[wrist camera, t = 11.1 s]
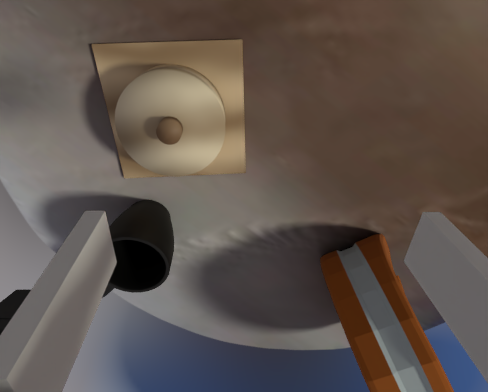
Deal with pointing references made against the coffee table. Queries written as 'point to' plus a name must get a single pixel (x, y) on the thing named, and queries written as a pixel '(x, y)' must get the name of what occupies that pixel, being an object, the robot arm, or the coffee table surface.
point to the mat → (191, 55)
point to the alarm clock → (381, 320)
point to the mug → (141, 247)
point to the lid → (171, 120)
